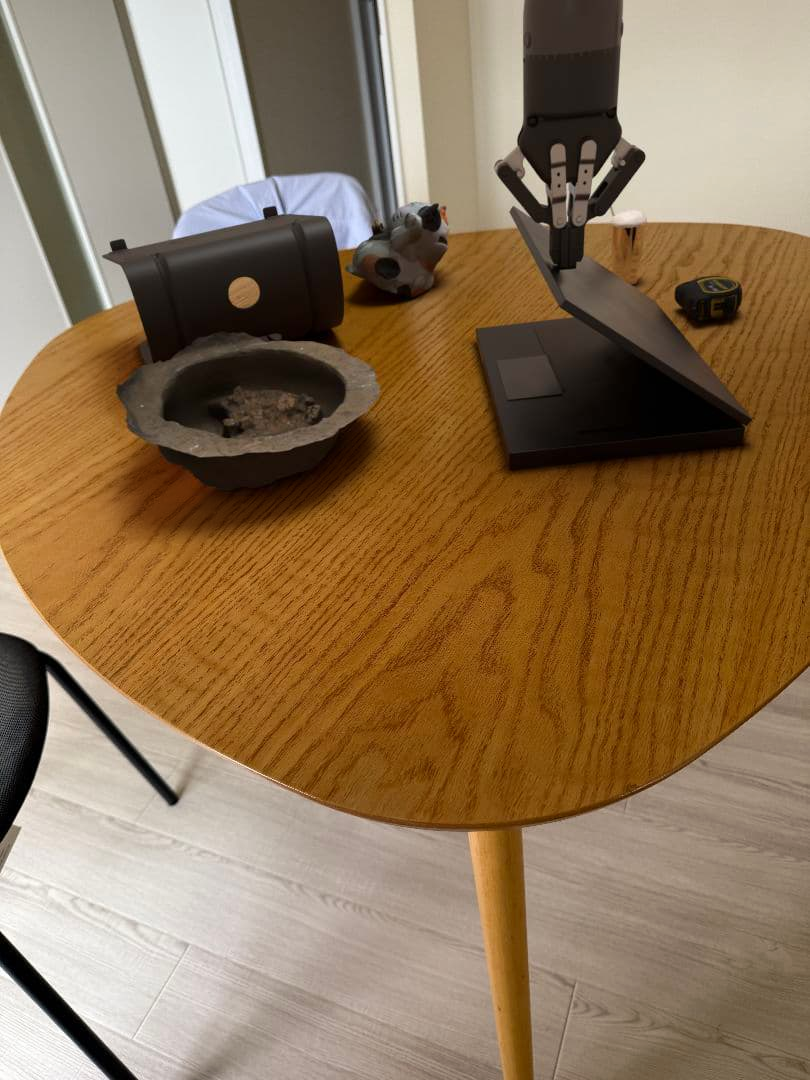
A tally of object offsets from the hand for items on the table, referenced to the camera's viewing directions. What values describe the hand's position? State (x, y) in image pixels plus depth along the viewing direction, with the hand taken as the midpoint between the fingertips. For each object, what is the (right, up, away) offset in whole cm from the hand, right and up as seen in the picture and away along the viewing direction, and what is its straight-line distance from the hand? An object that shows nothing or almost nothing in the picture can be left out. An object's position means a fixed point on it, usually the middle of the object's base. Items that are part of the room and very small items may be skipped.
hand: (565, 267), depth 71 cm
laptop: (+5, -9, +12) cm, 15 cm away
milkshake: (+15, +10, +35) cm, 40 cm away
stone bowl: (-29, -16, +8) cm, 34 cm away
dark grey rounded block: (-36, +1, +32) cm, 49 cm away
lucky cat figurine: (-15, +12, +44) cm, 48 cm away
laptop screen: (+6, -2, +7) cm, 9 cm away
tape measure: (+21, +2, +23) cm, 31 cm away
